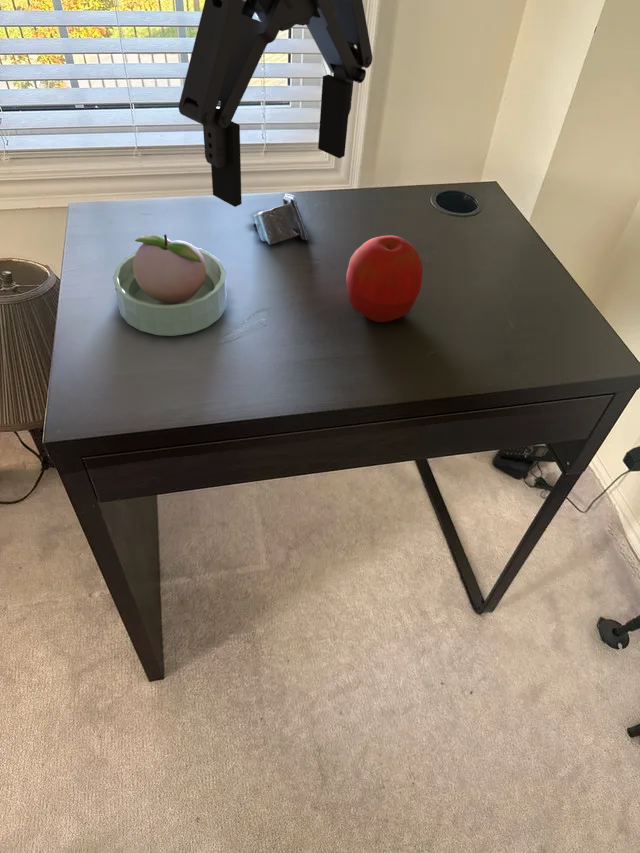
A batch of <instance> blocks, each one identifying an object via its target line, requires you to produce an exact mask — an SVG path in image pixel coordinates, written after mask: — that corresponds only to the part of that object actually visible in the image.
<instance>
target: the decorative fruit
mask: <svg viewBox="0 0 640 853" xmlns="http://www.w3.org/2000/svg"><path fill="white" fill-rule="evenodd" d="M134 241H135V242H138V243H141V244H140V245H139V247H138V248H137V250H136V251H137V252H136V251H135V252H136V255H135V258H134V263H133V272H134V276H135V279H136V281H137V283H138V285H139V286H140V288H141V289H142V290H143V291H144V292H145V293H146V294H147V295H148V296H150V297H151V298H153V299H156V300H159V301H163V302H173V303H177V302H182V301H186V300H188V299H190V298H191V297H192V296H193V295H194V294H195V293H196V292H197V291H198V290H199V289H200V287H201V286H202V284H203V282H204V279H205V274H206V267H205V261H204V258H203V256H202V254H201V253H200V251H199V250H198V249H197V248H198V247H196V246H195V245H193V244H191V243H190V242H188V241H185V240H171V239H169V238H168V235H167V234H163V236H161V235H158V234H153V233H152V234H149V233H148V234H144V235H141V236H139V237H137V238H136V239H135V240H134Z"/></svg>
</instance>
